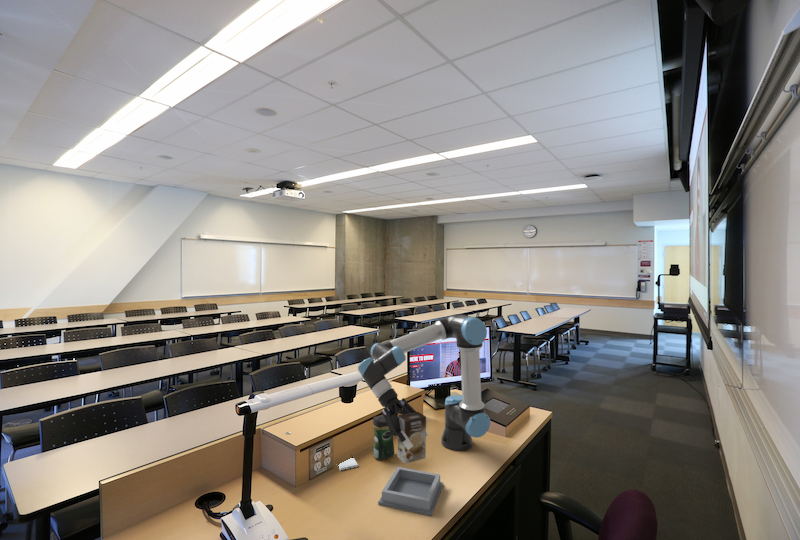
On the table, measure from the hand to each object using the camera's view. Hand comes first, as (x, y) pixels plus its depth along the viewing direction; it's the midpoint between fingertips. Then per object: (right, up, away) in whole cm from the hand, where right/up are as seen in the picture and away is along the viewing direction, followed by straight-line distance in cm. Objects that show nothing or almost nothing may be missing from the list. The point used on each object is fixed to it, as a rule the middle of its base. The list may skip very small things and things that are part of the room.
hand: (418, 442), depth 143 cm
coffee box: (-3, -7, +2) cm, 8 cm away
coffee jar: (-15, -21, +31) cm, 40 cm away
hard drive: (-31, -21, +25) cm, 46 cm away
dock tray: (-2, -21, +2) cm, 21 cm away
